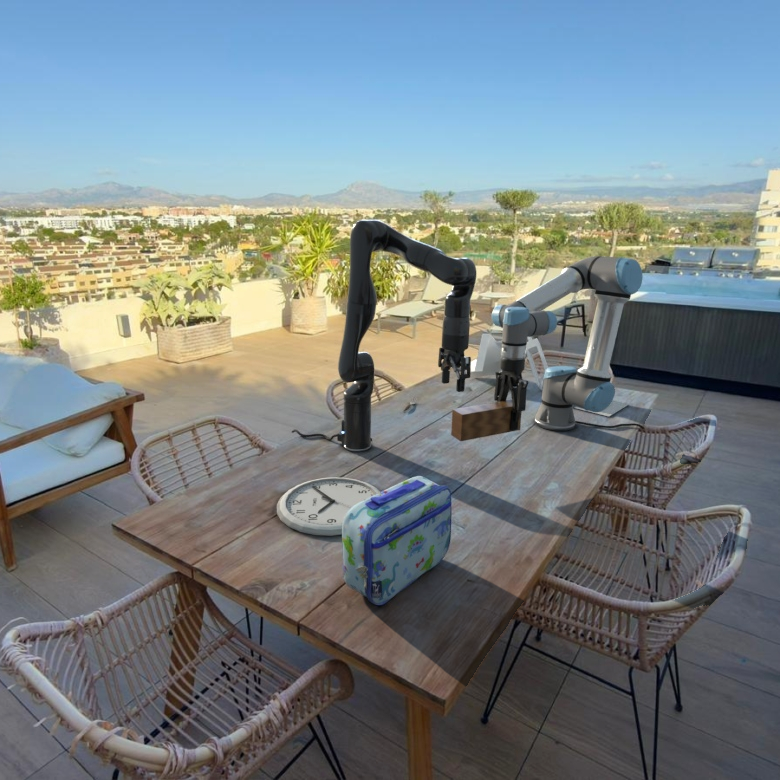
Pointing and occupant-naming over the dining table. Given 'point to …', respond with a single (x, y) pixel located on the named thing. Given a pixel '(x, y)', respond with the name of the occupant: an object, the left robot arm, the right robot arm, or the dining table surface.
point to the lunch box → (395, 537)
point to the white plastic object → (491, 356)
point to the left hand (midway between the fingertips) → (452, 387)
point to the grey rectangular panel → (609, 409)
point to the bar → (482, 420)
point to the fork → (411, 403)
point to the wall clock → (322, 504)
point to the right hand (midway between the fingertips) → (507, 426)
